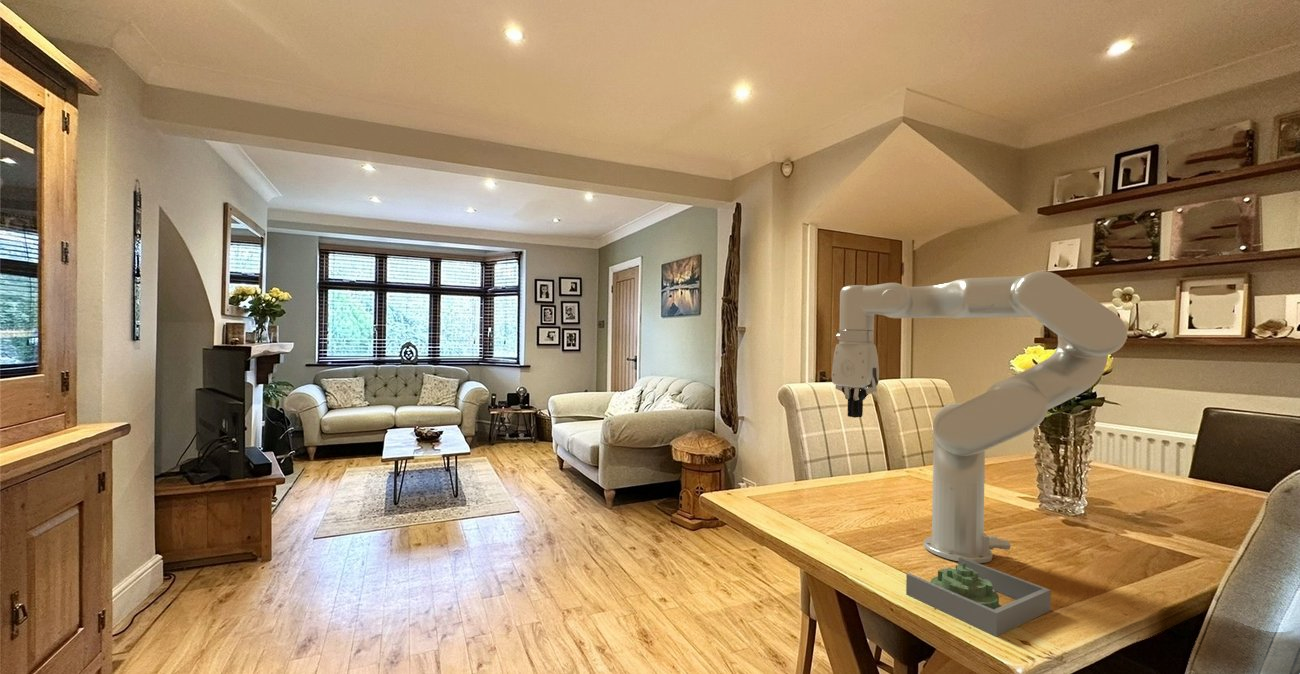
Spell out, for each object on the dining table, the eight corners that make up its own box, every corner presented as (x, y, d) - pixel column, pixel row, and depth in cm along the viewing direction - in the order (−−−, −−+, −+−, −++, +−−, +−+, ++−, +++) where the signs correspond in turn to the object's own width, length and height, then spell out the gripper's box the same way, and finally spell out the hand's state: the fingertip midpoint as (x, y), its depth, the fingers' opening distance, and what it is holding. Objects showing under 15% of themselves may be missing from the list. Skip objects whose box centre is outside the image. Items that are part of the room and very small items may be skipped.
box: (906, 594, 91) (906, 574, 91) (960, 575, 99) (961, 556, 99) (996, 636, 78) (996, 613, 78) (1050, 610, 86) (1050, 589, 86)
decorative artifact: (1006, 625, 82) (990, 596, 91) (1006, 580, 82) (990, 556, 91) (934, 612, 86) (926, 586, 95) (935, 569, 86) (927, 547, 95)
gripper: (820, 338, 126) (818, 413, 126) (873, 338, 113) (871, 422, 113) (841, 338, 129) (840, 412, 129) (895, 338, 116) (894, 420, 116)
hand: (854, 416), depth 121 cm, fingers closed
